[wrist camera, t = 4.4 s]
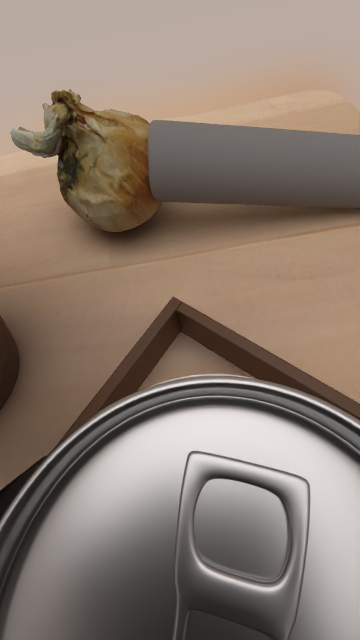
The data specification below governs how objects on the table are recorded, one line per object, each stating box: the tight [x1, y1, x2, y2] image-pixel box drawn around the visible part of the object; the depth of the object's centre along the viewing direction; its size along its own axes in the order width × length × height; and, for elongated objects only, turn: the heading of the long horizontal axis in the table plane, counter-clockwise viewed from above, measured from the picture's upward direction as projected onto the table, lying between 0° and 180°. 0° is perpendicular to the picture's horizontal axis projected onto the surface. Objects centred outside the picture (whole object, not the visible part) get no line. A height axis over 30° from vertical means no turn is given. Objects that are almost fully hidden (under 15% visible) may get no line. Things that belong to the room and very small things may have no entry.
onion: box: [11, 90, 167, 232], centre depth 18 cm, size 8×8×8 cm
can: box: [0, 374, 360, 640], centre depth 8 cm, size 6×6×12 cm
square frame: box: [57, 297, 360, 445], centre depth 12 cm, size 13×13×3 cm
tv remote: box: [148, 120, 360, 208], centre depth 17 cm, size 4×20×2 cm
